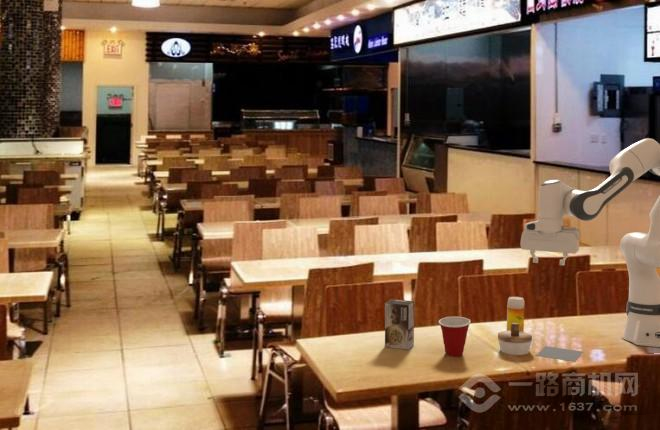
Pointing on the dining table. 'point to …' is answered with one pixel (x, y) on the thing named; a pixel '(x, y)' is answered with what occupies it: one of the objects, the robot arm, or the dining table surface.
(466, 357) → the dining table surface
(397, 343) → the coffee box
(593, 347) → the dining table surface
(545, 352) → the mat
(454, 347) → the plastic cup
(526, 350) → the ramekin
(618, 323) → the dining table surface
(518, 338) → the lid
